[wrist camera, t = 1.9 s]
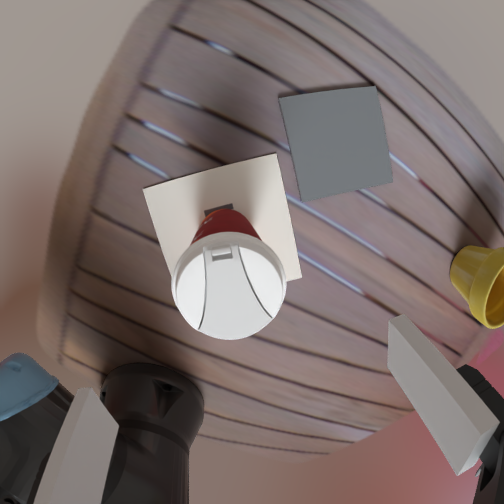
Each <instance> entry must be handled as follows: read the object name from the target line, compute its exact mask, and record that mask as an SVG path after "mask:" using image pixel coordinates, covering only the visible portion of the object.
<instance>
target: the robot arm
mask: <svg viewBox="0 0 504 504" xmlns="http://www.w3.org/2000/svg"><path fill="white" fill-rule="evenodd" d="M387 367H388V369H389V370H390V372H391V373H392V375H393V376H394V378H395V379H396V381H397V382H398V384H399V385H400V387H401V388H402V390H403V391H404V393H405V394H406V396H407V397H408V399H409V400H410V402H411V403H412V405H413V406H414V408H415V409H416V411H417V412H418V414H419V415H420V417H421V418H422V420H423V421H424V423H425V424H426V426H427V428H428V429H429V431H430V433H431V434H432V436H433V437H434V439H435V441H436V442H437V444H438V445H439V447H440V449H441V450H442V452H443V454H444V455H445V457H446V458H447V460H448V461H449V463H450V465H451V467H452V468H453V470H454V471H455V473H456V475H457V476H458V475H459V474H461V473H463V472H464V471H466V470H468V469H469V468H471V467H472V466H474V465H475V463H476V462H477V460H478V459H479V458H480V459H481V461H482V462H483V463H482V465H481V466H480V468H479V469H478V471H477V472H476V475H475V476H476V477H477V476H478V475H479V474H480V476H479V481H478V485H477V489H476V493H475V497H474V500H473V504H504V399H503V398H502V396H501V395H500V394H499V393H498V392H497V391H496V390H495V389H494V387H492V386H491V384H490V383H489V382H488V381H487V380H485V378H484V376H483V375H482V374H481V373H480V372H479V371H478V370H477V369H474V368H473V367H471V366H469V365H467V364H465V365H464V366H462V367H460V368H458V369H455V368H454V367H453V366H452V365H451V364H450V363H449V362H448V361H447V359H446V358H445V357H444V356H443V355H442V354H441V353H440V352H439V351H438V349H437V348H436V347H435V346H434V345H433V344H432V343H431V342H430V341H429V340H428V339H427V338H426V336H425V335H424V334H423V333H422V332H421V331H420V330H419V329H418V328H417V327H416V326H415V325H414V324H413V323H412V322H411V321H410V320H409V319H408V317H407V316H406V315H405V314H403V315H400V316H397V317H395V318H392V319H389V333H388V365H387ZM203 417H204V402H203V398H202V396H201V394H200V392H199V390H198V389H197V388H196V387H195V386H194V384H192V383H191V382H190V381H189V380H188V379H186V378H185V377H184V376H182V375H180V374H179V373H177V372H175V371H172V370H170V369H168V368H165V367H161V366H158V365H153V364H145V363H134V364H127V365H123V366H120V367H118V368H116V369H114V370H113V371H111V372H110V373H109V374H108V376H107V377H106V379H105V381H104V383H103V386H102V389H101V392H100V399H99V398H98V396H97V395H96V393H95V392H94V391H93V389H92V388H91V387H89V388H79V389H78V391H77V393H76V395H75V396H74V395H72V394H71V393H70V392H69V391H68V390H67V389H66V388H65V387H64V386H62V385H61V384H60V383H59V380H58V379H57V378H56V377H54V376H52V375H50V374H49V373H48V372H47V371H46V370H45V369H43V368H42V367H41V366H40V365H39V364H38V363H37V362H36V361H35V360H34V359H33V358H31V357H30V356H28V355H27V354H24V353H14V354H11V355H10V356H8V357H7V358H5V359H4V360H3V361H2V362H0V504H189V449H190V447H191V445H192V443H193V441H194V439H195V437H196V435H197V433H198V431H199V429H200V427H201V425H202V422H203Z"/></svg>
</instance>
